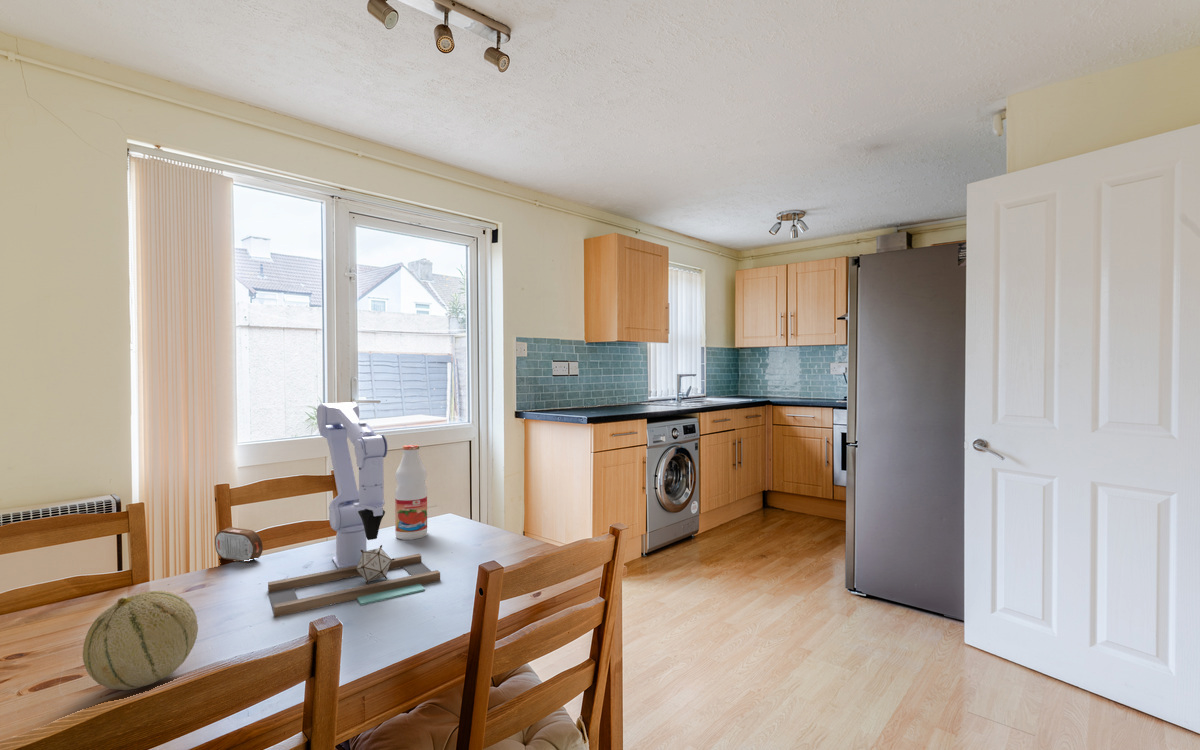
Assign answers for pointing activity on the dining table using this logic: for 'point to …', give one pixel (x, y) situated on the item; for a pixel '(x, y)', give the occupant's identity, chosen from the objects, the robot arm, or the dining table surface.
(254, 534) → the tin
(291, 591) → the mats
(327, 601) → the lane rails
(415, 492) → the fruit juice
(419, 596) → the dining table surface
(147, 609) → the cantaloupe
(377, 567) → the game die
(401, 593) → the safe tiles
